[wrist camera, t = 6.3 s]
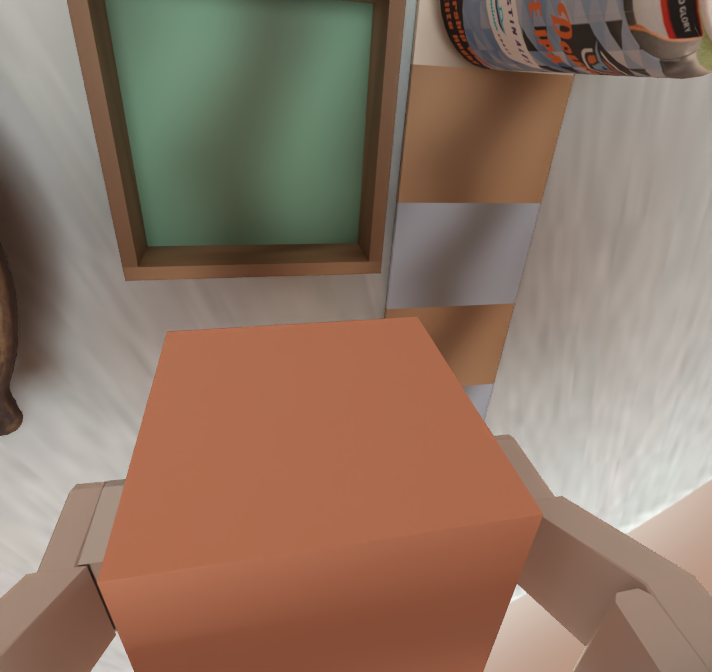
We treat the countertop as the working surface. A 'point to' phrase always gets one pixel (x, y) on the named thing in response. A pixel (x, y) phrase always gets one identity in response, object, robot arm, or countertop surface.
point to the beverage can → (584, 36)
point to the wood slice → (8, 349)
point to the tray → (243, 132)
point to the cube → (314, 507)
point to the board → (468, 197)
